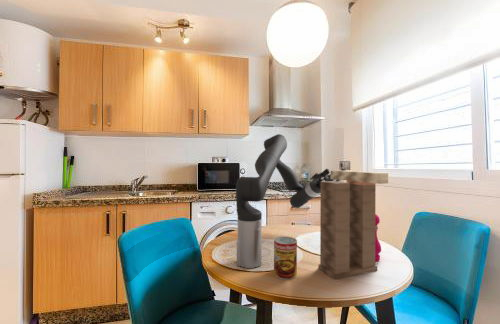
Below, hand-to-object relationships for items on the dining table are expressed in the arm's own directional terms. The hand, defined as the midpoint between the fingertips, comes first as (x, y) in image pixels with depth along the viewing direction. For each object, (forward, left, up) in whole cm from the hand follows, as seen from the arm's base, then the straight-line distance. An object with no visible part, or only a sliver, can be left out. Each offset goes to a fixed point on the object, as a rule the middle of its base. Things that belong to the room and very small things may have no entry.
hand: (336, 170), depth 104 cm
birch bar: (+5, -10, -4) cm, 11 cm away
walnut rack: (0, -14, -36) cm, 38 cm away
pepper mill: (+13, -3, -36) cm, 38 cm away
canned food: (-23, -19, -36) cm, 47 cm away
